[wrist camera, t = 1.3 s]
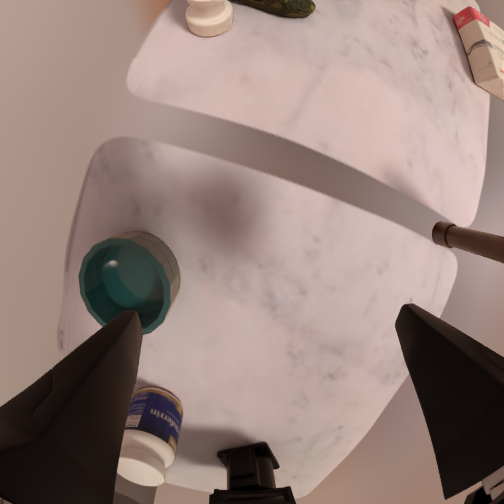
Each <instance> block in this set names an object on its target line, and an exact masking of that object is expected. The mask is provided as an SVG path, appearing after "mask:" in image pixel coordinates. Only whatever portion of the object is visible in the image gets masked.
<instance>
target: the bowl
mask: <svg viewBox="0 0 504 504" xmlns="http://www.w3.org/2000/svg"><path fill="white" fill-rule="evenodd" d="M79 285H80V294H81V296H82V299H83V301H84V303H85V305H86V307H87V310H88V311H89V313H90V314H91V315H92V316H93V317H94V318H95V320H96V321H97V322H98V323H99V324H100V325H101V326H103V327H104V326H105V325H106V324H107V323H109V322H110V321H111V320H113V319H114V318H115V317H116V316H118V315H119V314H120V313H122V312H123V311H125V310H132V311H136V312H137V313H138V316H139V319H140V323H141V326H142V330H143V335H145V334H149V333H151V332H152V331H154V330H155V329H156V328H157V327H158V326H159V325H161V324H162V323H163V322H164V320H165V318H166V316H167V314H168V313H169V311H170V309H171V307H172V305H173V303H174V301H175V299H176V297H177V294H178V292H179V288H180V270H179V266H178V263H177V260H176V258H175V256H174V254H173V253H172V251H171V250H170V249H169V247H168V246H167V245H166V244H165V243H164V242H163V241H161V240H160V239H159V238H157V237H155V236H153V235H151V234H149V233H145V232H139V231H132V232H125V233H123V234H120V235H117V236H114V237H112V238H109V239H107V240H104V241H102V242H100V243H98V244H95V245H94V246H93V247H92V248H91V250H90V251H89V252H88V253H87V254H86V256H85V257H84V259H83V261H82V265H81V269H80V273H79Z"/></svg>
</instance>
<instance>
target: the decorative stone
mask: <svg viewBox="0 0 504 504" xmlns="http://www.w3.org/2000/svg"><path fill="white" fill-rule="evenodd" d="M238 1H240V2H242V3H244V4H247V5H249V6H252V7H256V8H259V9H262V10H266V11H269V12H273V13H276V14H280V15H284V16H290V17H299V18H305V17H307V16H309V15H310V14H311V13H313V11H314V10H315V4H314V2H313V1H312V0H238Z"/></svg>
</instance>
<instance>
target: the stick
mask: <svg viewBox="0 0 504 504" xmlns="http://www.w3.org/2000/svg"><path fill="white" fill-rule="evenodd" d="M432 238H433V241H434V242H435V243H436V244H437V245H441V246H444V247H447V248H453V247H454V248H458V249H461V250H464V251H468V252H471V253H474V254H477V255H481V256H483V257H487V258H490V259H493V260H496V261H499V262H501V263H504V237H502V236H497V235H493V234H489V233H485V232H480V231H476V230H471V229H466V228H461V227H457V226H456V225H455V224H452V223H447V222H438V223H436V224H435V226H434V228H433V230H432Z"/></svg>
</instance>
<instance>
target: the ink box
mask: <svg viewBox="0 0 504 504" xmlns="http://www.w3.org/2000/svg"><path fill="white" fill-rule="evenodd" d="M453 20H454V22H455V24H456V27H457V29H458V32H459V34H460V37H461V39H462V42H463V45H464V48H465V50H466V53H467V56H468V59H469V63H470V66H471V69H472V73H473V76H474V80H475V84H476V85H478V86H480V87H482V88H483V89H485V90H487V91H488V92H490V93H492V94H493V95H495V96H496V97H498V98H499V99H501V100H502V101H504V31H503V30H502V29H500V28H499V27H498V26H497V25H495V24H494V23H492V22H491V21H490V20H489V19H487V18H486V17H485V16H483V15H482V14H481V13H479V12H478V11H476V10H475V9H474V8H472V7H470V6H469V7H467V8H465V9H463V10H462V11H460V12H459V13H457V14H456V15H455V16H454V17H453Z"/></svg>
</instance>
